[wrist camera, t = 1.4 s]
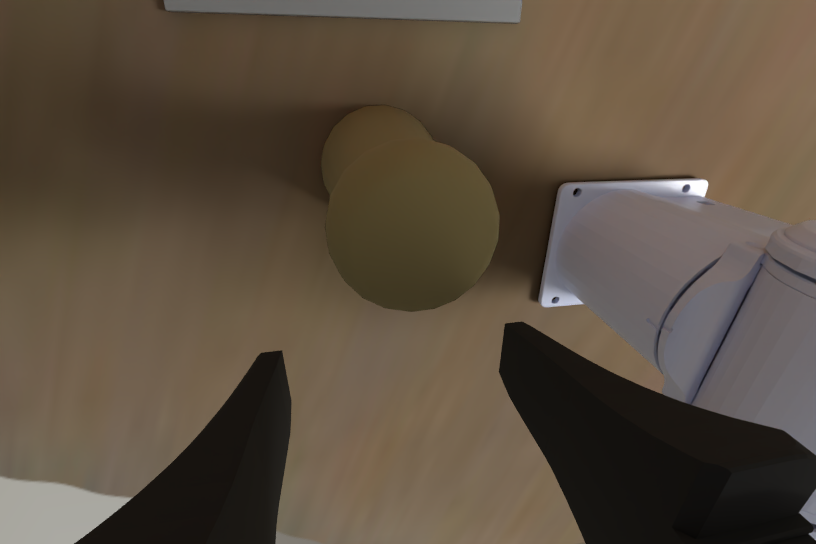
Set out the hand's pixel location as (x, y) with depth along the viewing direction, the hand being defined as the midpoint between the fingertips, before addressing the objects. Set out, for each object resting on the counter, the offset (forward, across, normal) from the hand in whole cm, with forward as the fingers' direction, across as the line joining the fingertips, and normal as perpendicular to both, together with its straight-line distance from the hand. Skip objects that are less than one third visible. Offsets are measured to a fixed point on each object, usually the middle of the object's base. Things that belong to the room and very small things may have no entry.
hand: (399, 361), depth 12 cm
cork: (+11, -1, -4) cm, 11 cm away
